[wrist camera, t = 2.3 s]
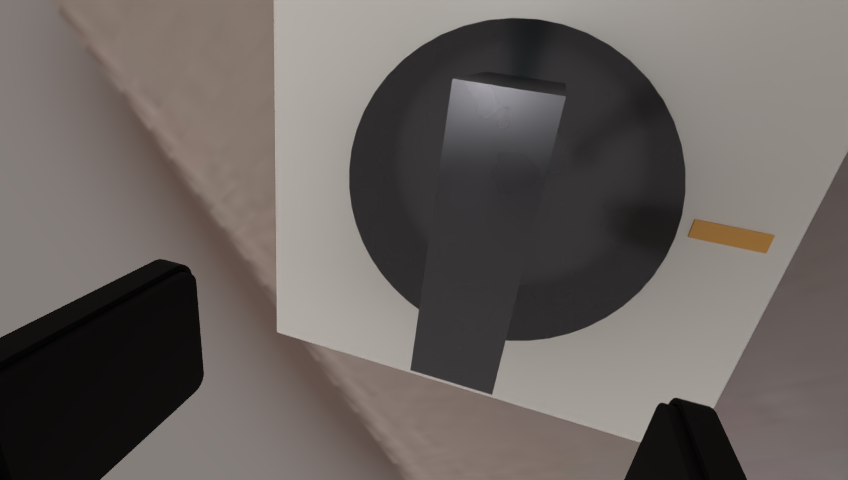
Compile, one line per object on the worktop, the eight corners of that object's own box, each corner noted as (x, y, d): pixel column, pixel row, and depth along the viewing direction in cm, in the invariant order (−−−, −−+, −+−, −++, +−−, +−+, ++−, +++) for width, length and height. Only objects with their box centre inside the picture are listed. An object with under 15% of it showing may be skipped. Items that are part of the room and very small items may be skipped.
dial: (374, 0, 19) (271, -28, 12) (734, 46, 16) (854, 40, 10) (354, 284, 25) (275, 370, 18) (617, 355, 22) (639, 487, 15)
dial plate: (936, -93, 15) (988, -113, 13) (679, 428, 25) (688, 458, 23) (298, -133, 20) (270, -152, 18) (294, 315, 30) (275, 333, 28)
